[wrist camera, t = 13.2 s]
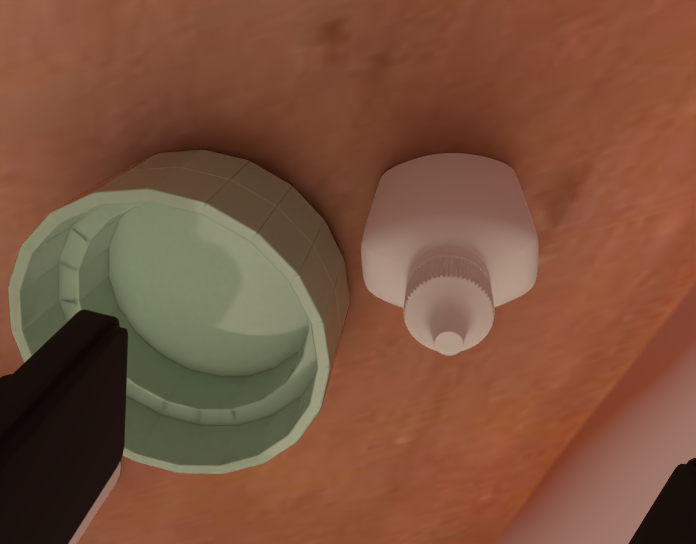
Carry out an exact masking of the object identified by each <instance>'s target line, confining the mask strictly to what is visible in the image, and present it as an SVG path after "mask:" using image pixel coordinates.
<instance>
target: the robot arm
mask: <svg viewBox="0 0 696 544" xmlns="http://www.w3.org/2000/svg"><path fill="white" fill-rule="evenodd" d="M127 356H128V331H127V329H126V328H122V327H120V324H119V320H118V318H116V317H114V316H110V315H106V314H102V313H98V312H93V311H89V310H85V309H84V310H80V311H79V312H77V313H76V314H75V315H74V316H73V317H72V318H71V319H70V320H69V321H68V322H67V323H66V324H65V325H64V326H63V327H62V328H60V329H59V330H58V331H57V332H56V333H55V334H54V335H53V336H52V337H51V338H50V339H49V340H48V341H47V342H46V343H45V344H44V345H43V346H42V347H41V348H40V349H39V350H38V351H36V352H35V353H34V354H33V355H32V356H31V357H30V358H29V359H28V360H27V361H26V362H25V363H24V364H23V365H22V366H21V367H20V368H19V369H18V370H17V371H16V372H15V373H14V374H9V375H6V376H3V377H1V378H0V544H69V542H70V540H71V539H72V537H73V536H74V534H75V533H76V531H77V529H78V528H79V526H80V525H81V523H82V522H83V520H84V518H85V517H86V515H87V514H88V512H89V511H90V509H91V508H92V506H93V504H94V503H95V501H96V500H97V498H98V497H99V495H100V493H101V492H102V490H103V489H104V487H105V486H106V484H107V482H108V481H109V479H110V478H111V476H112V475H113V473H114V471H115V470H116V468H117V467H118V465H119V463H120V460H121V458H122V455H123V451H124V444H125V415H126V385H127ZM629 544H696V458H693V459H691V460H689V461H688V463H687V464H680V465H678V466H677V467H676V468H675V470H674V471H673V473H672V475H671V476H670V478H669V479H668V481H667V483H666V484H665V486H664V487H663V489H662V491H661V492H660V494H659V495H658V497H657V499H656V500H655V502H654V504H653V505H652V507H651V508H650V510H649V512H648V513H647V515H646V516H645V518H644V520H643V521H642V523H641V524H640V526H639V528H638V529H637V531H636V533H635V534H634V536H633V538H632V539H631V541H630V542H629Z"/></svg>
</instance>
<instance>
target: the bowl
mask: <svg viewBox="0 0 696 544" xmlns="http://www.w3.org/2000/svg"><path fill="white" fill-rule="evenodd" d="M8 296H9V311H10V325H11V332H12V334H13V336H14V339H15V341H16V344H17V346H18V349H19V351H20V354H21V356H22V359H23V361H24V363H25V362H26V361H27V360H28V359H29V358H30V357H31V356H32V355H33V354H34V353H35V352H36V351H38V350H39V349H40V348H41V347H42V346H43V345H44V344H45V343H46V342H47V341H48V340H49V339H50V338H51V337H52V336H53V335H54V334H55V333H56V332H57V331H58V330H59V329H60V328H62V327H63V326H64V325H65V324H66V323H67V322H68V321H69V320H70V319H71V318H72V317H73V316H74V315H75V314H76V313H77V312H79V311H80V310H84V309H85V310H89V311H93V312H98V313H102V314H106V315H110V316H114V317H116V318H118V320H119V324H120V327H122V328H126V329H127V331H128V356H127V385H126V415H125V444H124V451H123V456H125V457H127V458H129V459H131V460H133V461H135V462H138V463H142V464H146V465H150V466H154V467H158V468H161V469H165V470H169V471H173V472H177V473H196V474H225V473H229V472H233V471H237V470H241V469H244V468H248V467H252V466H256V465H260V464H263V463H265V462H267V461H268V460H270V459H271V458H273V457H274V456H276V455H278V454H279V453H281V452H282V451H284V450H285V449H287V448H288V447H290V446H291V445H293V444H294V443H296V442H297V441H298V440H299V439H300V437H301V436H302V435H303V433H304V432H305V431H306V429H307V428H308V426H309V425H310V424H311V422H312V421H313V419H314V418H315V417H316V415H317V414H318V412H319V411H320V409H321V407H322V404H323V400H324V397H325V393H326V390H327V386H328V383H329V379H330V376H331V372H332V369H333V365H334V362H335V358H336V355H337V351H338V348H339V344H340V341H341V337H342V333H343V329H344V325H345V320H346V316H347V312H348V307H349V301H350V299H349V291H348V283H347V275H346V267H345V262H344V259H343V257H342V255H341V253H340V250H339V248H338V246H337V244H336V242H335V240H334V238H333V236H332V234H331V232H330V230H329V228H328V226H327V224H326V222H325V221H324V219H323V218H322V217H321V216H320V215H319V214H318V213H317V212H316V211H315V210H314V208H313V207H312V206H311V205H310V204H309V203H308V202H307V201H306V200H305V199H304V198H303V197H302V196H301V195H300V194H299V192H298V191H297V190H296V189H295V188H294V187H293V186H292V187H291V185H290V184H288V183H287V182H285V181H283V180H282V179H280V178H278V177H276V176H275V175H273V174H271V173H270V172H268V171H266V170H265V169H263V168H261V167H259V166H258V165H256V164H254V163H253V162H250V161H249V160H245V159H241V158H237V157H232V156H228V155H224V154H220V153H216V152H212V151H208V150H191V151H179V152H166V153H159V154H155V155H153V156H151V157H149V158H146V159H144V160H142V161H140V162H138V163H136V164H134V165H131V166H129V167H127V168H125V169H123V170H121V171H119V172H117V173H116V174H114V175H112V176H111V177H109V178H107V179H106V180H104V181H102V182H101V183H99V184H97V185H96V186H94V187H92V188H91V189H89V190H87V191H85V192H84V193H82V194H80V195H79V196H77V197H75V198H74V199H72V200H70V201H69V202H67V203H65V204H64V205H62V206H60V207H59V208H57V209H55V210H53V211H52V212H51V213H49V214H48V215H47V217H46V218H45V219H44V220H43V221H42V222H41V223H40V224H39V226H38V227H37V228H36V229H35V230H34V231H33V232H32V233H31V235H30V236H29V237H28V238H27V239H26V240H25V241H24V242H23V243H22V245H21V247H20V250H19V253H18V256H17V259H16V262H15V266H14V269H13V272H12V275H11V278H10V281H9V284H8Z"/></svg>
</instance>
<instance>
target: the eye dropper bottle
mask: <svg viewBox="0 0 696 544" xmlns="http://www.w3.org/2000/svg"><path fill="white" fill-rule="evenodd" d="M361 261H362V272H363V279H364V283H365V285H366V287H367V289H368V291H370V292H371V293H372V294H373V295H374V296H376V297H378V298H380V299H382V300H384V301H386V302H389V303H391V304H394V305H396V306H399V307H402V308H404V309H403V312H404V314H403V316H404V321H405V324H406V325H407V329H409V332H410V333H411V335H412V336H414V339H416V340H417V341H418V342H420V344H422V345H424V346H425V347H428V348H430V349H432V350H436V351H438V352H440V353H441V354H443V355H448V356H450V355H455V354H457V353H459V352H460V351H464V350H466V349H469V348H471V347H473V346H475V345H477V343H480V341H481V340H483V339H484V337H486V334H488V333H489V330H491V326H493V322H494V317H495V315H494V313H495V310H494V309H495V308H494V307H497V306H499V305H502V304H505V303H507V302H509V301H512V300H514V299H516V298H518V297H520V296H522V295H523V294H525V293H527V292H528V291H529V290H530V289H531V288H532V287H533V286H534V283H535V281H536V279H537V271H538V237H537V233H536V230H535V227H534V223H533V220H532V217H531V214H530V211H529V209H528V206H527V203H526V200H525V197H524V194H523V192H522V189H521V186H520V184H519V181H518V178H517V175H516V173H515V171H514V170H513V169H512V168H511V167H510V166H509V165H507V164H505V163H503V162H500V161H497V160H494V159H491V158H487V157H483V156H479V155H473V154H465V153H441V154H433V155H428V156H423V157H419V158H416V159H412V160H409V161H407V162H404V163H401V164H399V165H397V166H395V167H393V168H391V169H389V170H388V171H386V172H385V173H384V174H383V175H382V176H381V178H380V181H379V184H378V187H377V190H376V193H375V196H374V200H373V203H372V206H371V209H370V213H369V216H368V219H367V222H366V226H365V230H364V234H363V238H362V242H361Z"/></svg>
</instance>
